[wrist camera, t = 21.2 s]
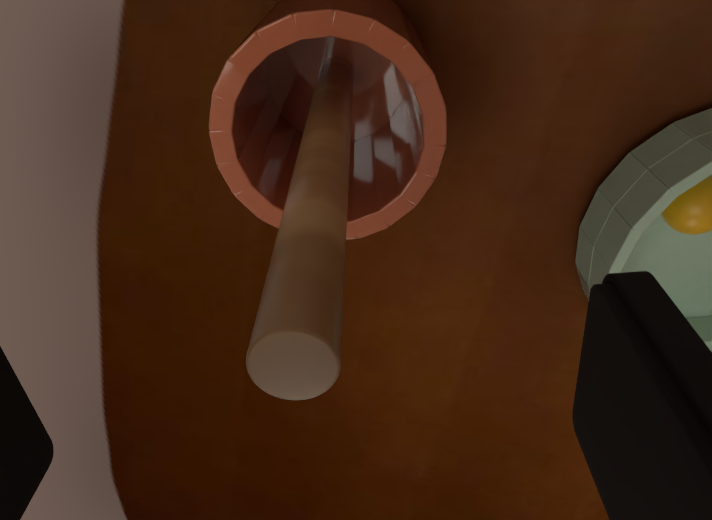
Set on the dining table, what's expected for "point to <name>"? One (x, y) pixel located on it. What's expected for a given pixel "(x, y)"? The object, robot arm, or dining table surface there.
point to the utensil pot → (293, 99)
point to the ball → (691, 209)
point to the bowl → (654, 220)
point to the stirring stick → (309, 254)
